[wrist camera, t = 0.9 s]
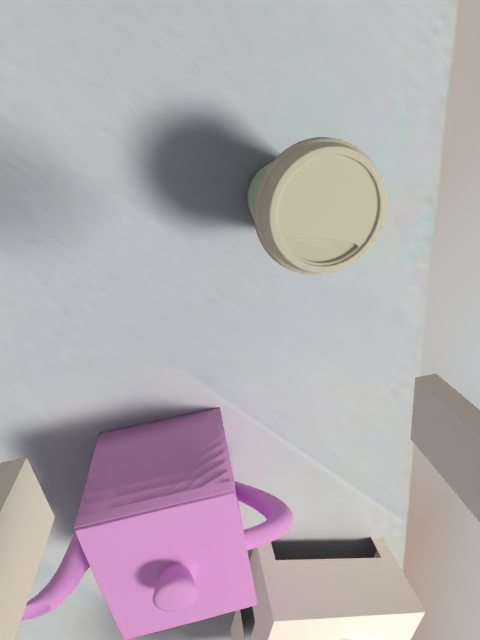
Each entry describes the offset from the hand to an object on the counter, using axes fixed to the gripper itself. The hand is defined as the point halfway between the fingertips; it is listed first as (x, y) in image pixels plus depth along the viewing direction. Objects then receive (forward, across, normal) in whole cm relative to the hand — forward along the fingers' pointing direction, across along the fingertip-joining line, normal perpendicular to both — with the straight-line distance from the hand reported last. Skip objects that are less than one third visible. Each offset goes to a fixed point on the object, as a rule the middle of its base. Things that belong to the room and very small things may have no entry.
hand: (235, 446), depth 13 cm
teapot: (+24, -8, -24) cm, 35 cm away
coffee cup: (+25, +8, +5) cm, 26 cm away
